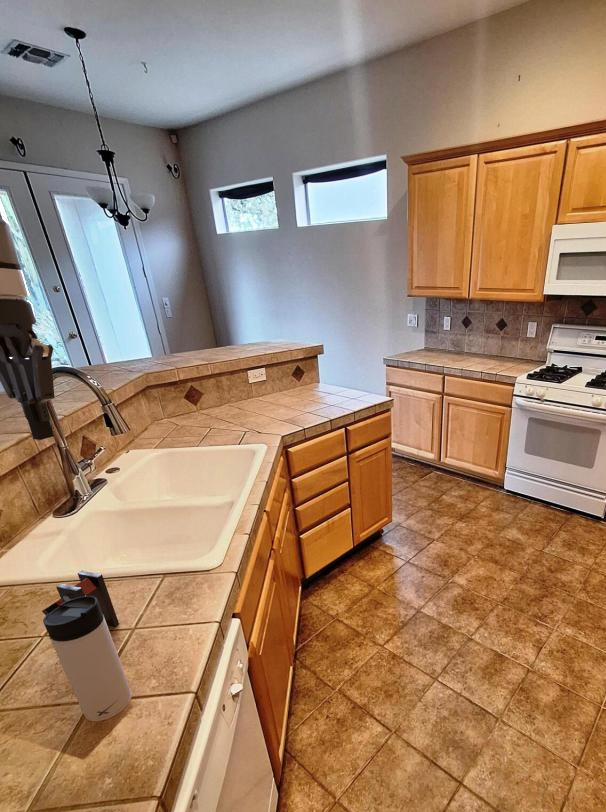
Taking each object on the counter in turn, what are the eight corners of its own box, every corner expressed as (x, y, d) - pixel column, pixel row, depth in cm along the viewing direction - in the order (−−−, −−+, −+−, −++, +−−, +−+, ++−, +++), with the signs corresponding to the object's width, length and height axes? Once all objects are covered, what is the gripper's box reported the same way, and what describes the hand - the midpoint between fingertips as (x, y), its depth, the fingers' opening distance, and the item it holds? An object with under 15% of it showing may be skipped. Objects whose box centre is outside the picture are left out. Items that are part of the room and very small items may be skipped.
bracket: (52, 647, 77) (26, 590, 72) (96, 615, 85) (75, 561, 80) (106, 661, 75) (83, 602, 69) (146, 626, 82) (128, 571, 77)
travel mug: (115, 730, 63) (72, 625, 54) (76, 724, 64) (27, 619, 55) (145, 695, 68) (110, 594, 60) (108, 689, 69) (68, 589, 61)
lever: (48, 618, 77) (39, 608, 77) (74, 601, 82) (65, 592, 81) (78, 600, 73) (68, 589, 72) (103, 583, 77) (94, 572, 76)
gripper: (55, 300, 72) (90, 436, 82) (-7, 297, 75) (35, 429, 84) (9, 298, 66) (54, 446, 75) (-57, 295, 68) (-6, 439, 78)
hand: (43, 437), depth 80 cm, fingers closed
